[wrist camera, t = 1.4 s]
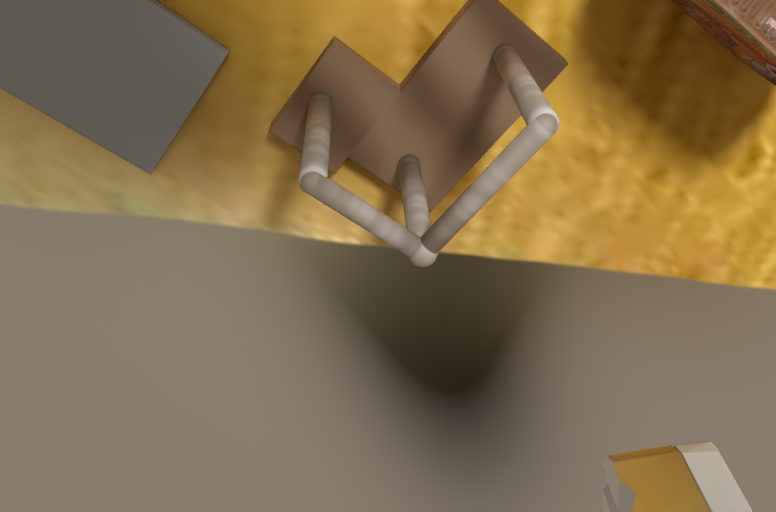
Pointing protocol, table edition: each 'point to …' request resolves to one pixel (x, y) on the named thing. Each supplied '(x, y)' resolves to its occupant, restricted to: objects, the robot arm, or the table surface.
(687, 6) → the tin
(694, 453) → the robot arm
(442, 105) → the buzz wire frame
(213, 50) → the mat
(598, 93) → the table surface
